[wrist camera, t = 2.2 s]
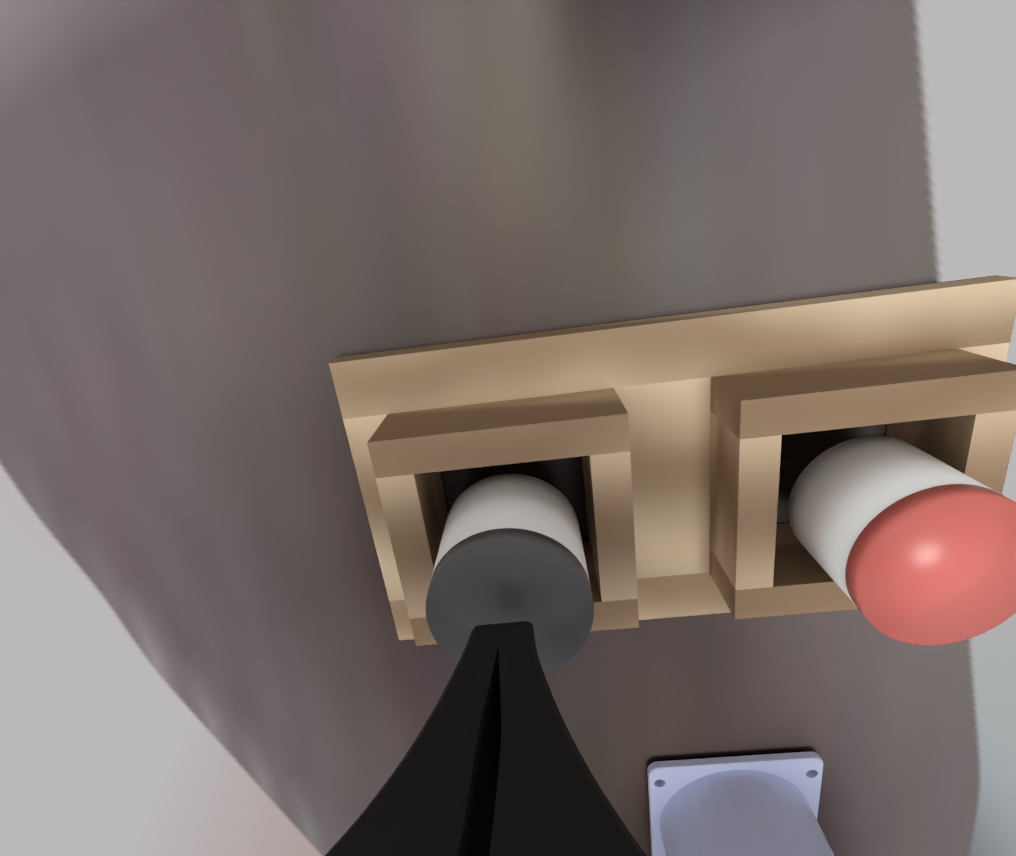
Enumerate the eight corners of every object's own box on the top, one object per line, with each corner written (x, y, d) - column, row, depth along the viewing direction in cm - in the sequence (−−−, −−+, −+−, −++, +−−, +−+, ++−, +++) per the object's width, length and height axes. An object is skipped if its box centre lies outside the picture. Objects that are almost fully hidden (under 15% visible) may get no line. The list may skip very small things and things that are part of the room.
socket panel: (938, 576, 21) (1016, 642, 18) (404, 623, 23) (383, 691, 19) (995, 275, 17) (1112, 287, 14) (338, 356, 19) (297, 385, 15)
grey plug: (584, 583, 18) (599, 671, 14) (457, 595, 18) (441, 683, 15) (573, 466, 16) (587, 532, 13) (434, 481, 17) (410, 549, 13)
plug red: (922, 553, 17) (1027, 637, 14) (783, 565, 17) (850, 651, 14) (944, 427, 16) (1068, 486, 12) (791, 443, 16) (869, 505, 12)
